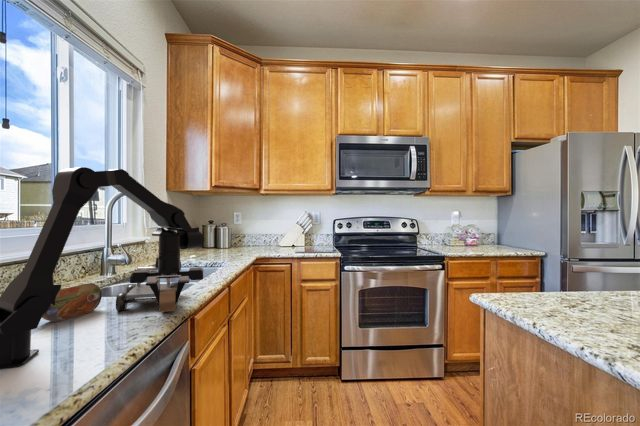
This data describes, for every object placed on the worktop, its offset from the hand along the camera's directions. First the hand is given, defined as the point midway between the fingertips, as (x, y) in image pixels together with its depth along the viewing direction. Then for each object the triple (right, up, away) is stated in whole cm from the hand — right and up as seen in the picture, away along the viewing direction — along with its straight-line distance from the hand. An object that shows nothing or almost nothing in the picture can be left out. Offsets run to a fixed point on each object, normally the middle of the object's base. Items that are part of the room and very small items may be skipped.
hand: (168, 304), depth 89 cm
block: (0, -1, 0) cm, 1 cm away
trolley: (-10, -2, +9) cm, 14 cm away
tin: (-24, -2, -5) cm, 25 cm away
